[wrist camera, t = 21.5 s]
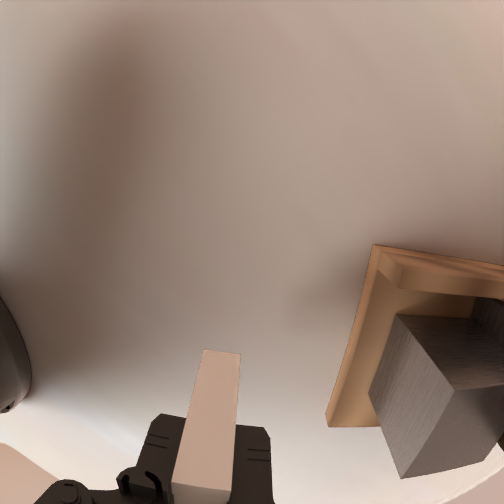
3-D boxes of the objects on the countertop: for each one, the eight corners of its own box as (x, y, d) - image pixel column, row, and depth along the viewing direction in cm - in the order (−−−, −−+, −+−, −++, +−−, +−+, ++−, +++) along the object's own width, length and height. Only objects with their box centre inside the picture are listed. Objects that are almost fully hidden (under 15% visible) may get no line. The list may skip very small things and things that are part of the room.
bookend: (358, 414, 20) (385, 498, 12) (404, 281, 17) (473, 348, 10) (436, 410, 20) (475, 478, 12) (487, 291, 17) (558, 343, 10)
